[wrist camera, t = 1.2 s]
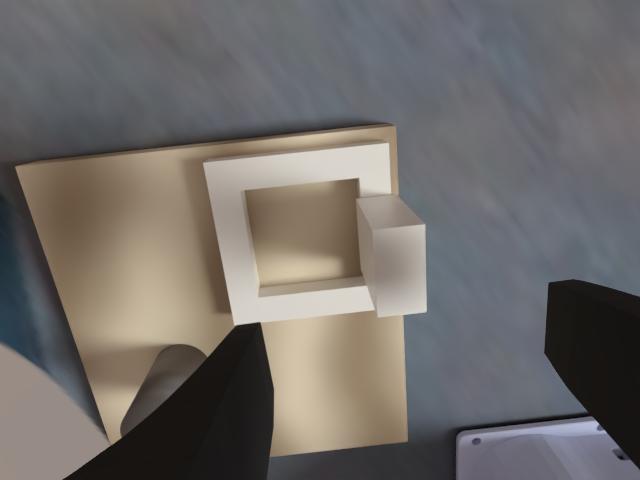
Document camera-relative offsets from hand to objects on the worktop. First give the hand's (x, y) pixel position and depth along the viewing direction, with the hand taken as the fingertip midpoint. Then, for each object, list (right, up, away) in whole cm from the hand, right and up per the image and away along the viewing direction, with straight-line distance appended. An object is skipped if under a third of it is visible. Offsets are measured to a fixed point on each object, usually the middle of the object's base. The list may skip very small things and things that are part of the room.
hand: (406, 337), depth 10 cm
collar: (-3, +3, +7) cm, 8 cm away
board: (-6, -1, +10) cm, 12 cm away
